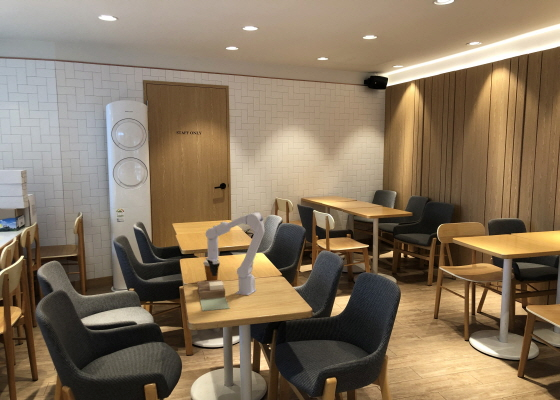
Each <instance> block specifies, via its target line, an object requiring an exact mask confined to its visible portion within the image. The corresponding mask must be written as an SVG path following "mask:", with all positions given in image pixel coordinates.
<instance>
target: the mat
mask: <svg viewBox="0 0 560 400" xmlns="http://www.w3.org/2000/svg"><path fill="white" fill-rule="evenodd" d="M199 300H200V305H201V310H202V312H209V311H218V310H228V309H229V310H230V306H229V303H228V300H227V298H226V296H225V297H220V298H210V299H200V298H199Z"/></svg>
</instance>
